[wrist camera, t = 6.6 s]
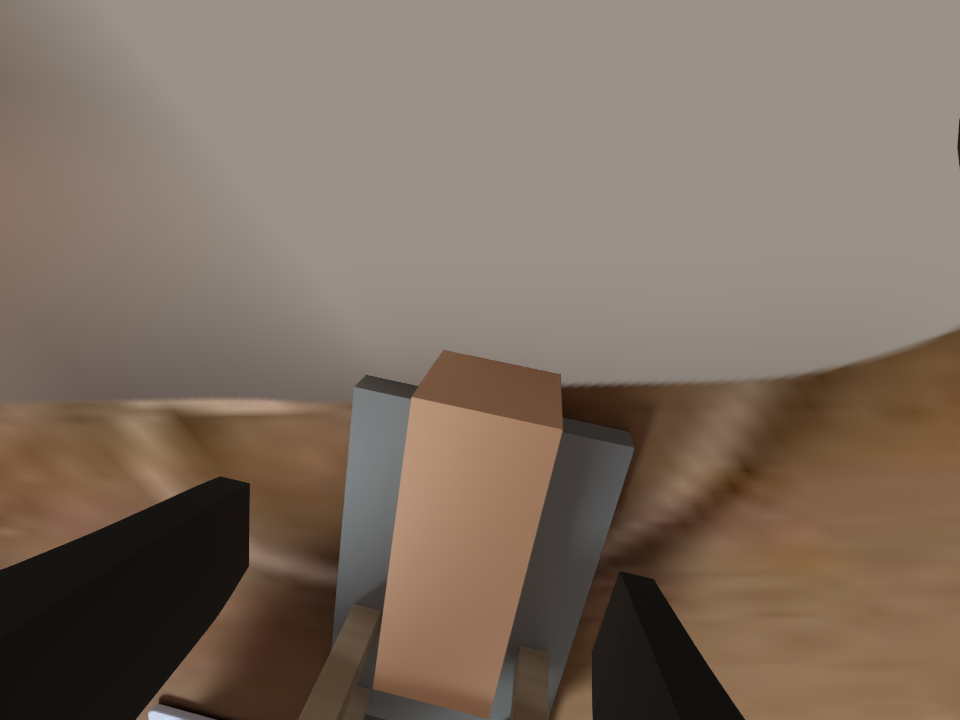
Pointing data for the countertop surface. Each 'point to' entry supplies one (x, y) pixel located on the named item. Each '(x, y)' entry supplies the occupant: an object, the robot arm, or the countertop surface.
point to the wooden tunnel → (343, 704)
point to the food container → (959, 143)
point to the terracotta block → (465, 527)
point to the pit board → (554, 558)
